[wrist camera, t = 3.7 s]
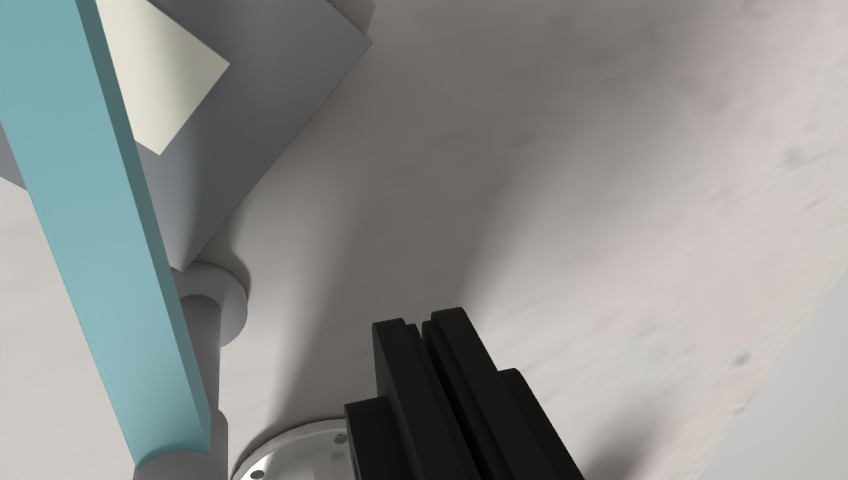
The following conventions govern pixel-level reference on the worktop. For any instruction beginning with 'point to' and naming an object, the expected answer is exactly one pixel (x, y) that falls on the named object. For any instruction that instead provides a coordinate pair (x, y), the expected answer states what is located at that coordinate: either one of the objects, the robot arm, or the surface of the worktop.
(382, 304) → the worktop surface
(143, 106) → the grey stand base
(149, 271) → the swing bar
